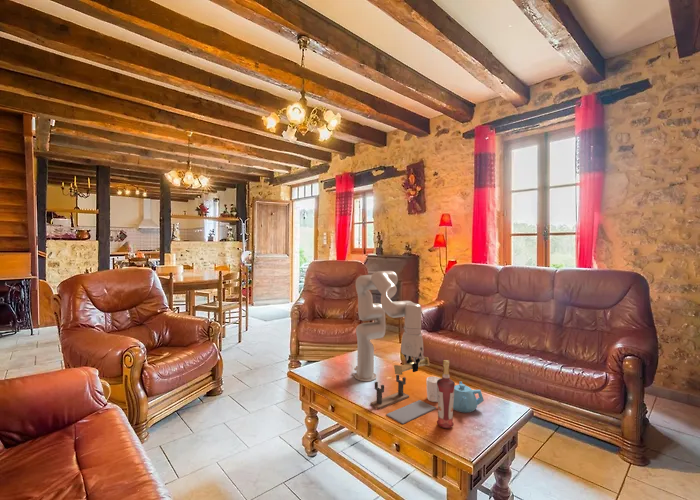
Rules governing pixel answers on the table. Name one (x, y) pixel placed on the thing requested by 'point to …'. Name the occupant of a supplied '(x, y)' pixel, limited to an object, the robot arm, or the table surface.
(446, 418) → the liquor
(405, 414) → the mat
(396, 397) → the rack
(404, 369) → the rail
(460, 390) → the teapot
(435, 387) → the white cup
